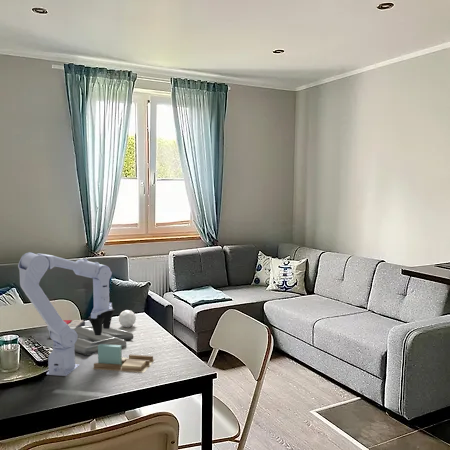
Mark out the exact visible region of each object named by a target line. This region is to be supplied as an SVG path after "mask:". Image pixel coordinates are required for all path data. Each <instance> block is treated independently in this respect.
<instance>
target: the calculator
mask: <svg viewBox="0 0 450 450" xmlns="http://www.w3.org/2000/svg"><path fill="white" fill-rule="evenodd" d="M62 320H63V321H64V322H65V323H66V324H67V325H68V326H69V327H70V328H71V329H75V328H77V327H83V326H86V321H85V320H83V319H79V320H78V319H74V320H72V319H68V320H67V319H62Z"/></svg>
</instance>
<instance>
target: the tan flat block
mask: <svg viewBox="0 0 450 450" xmlns="http://www.w3.org/2000/svg"><path fill="white" fill-rule="evenodd" d="M145 366H146V364H145V365H144V366H143V367H142V368H141V369H135V368H122V370H132V371H141V370H142V369H143V368H144V367H145Z"/></svg>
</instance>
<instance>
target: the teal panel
mask: <svg viewBox="0 0 450 450" xmlns="http://www.w3.org/2000/svg"><path fill="white" fill-rule="evenodd" d="M122 349H123V348H122V347H121V345H109V344H100V345H98V352H97V363H106V364H121V366H122V355H123V354H122Z"/></svg>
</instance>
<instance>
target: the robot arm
mask: <svg viewBox="0 0 450 450" xmlns="http://www.w3.org/2000/svg"><path fill="white" fill-rule="evenodd" d="M56 267H57V268H62V269H67V270H69V271H70V270H71V271H73V273H74V274H75V275H76V276H81V277H84V278H90V279H92V288H93V289H92V291H93V292H92V293H93V294H92V295H93V308H92V310H91V313H90V316H88V321H89V322H90V324H91V326H93V329H94V333H95V335H101V333H102V325H103V328H104V329H109V328H110V327H111V322H112V319H113V315H114V313H115V308H113V302H110V279H111V277H112V274H113V272H112V271H111V268H110V267H109V266H108V265H106V264H102V263H101V264H100V263H99V261H95V262H93V261H89V260H88V259H87V258H84V257H83V258H82V259H81V258H80V259H78V260H76V261H74V260H72V259H71V260H70V259H66V258H63V257H60V256H56V255H52V254H48V253H47V254H46V253H38V252H37V253H34V252H31V251H29V252H26V253H24V254H22V255H21V257H20V260H19V262H18V264H17V268H18V270H19V271H18V272H19V286H20V288H21V289H22V291H23V292H24V294H25V296H26V297H27V298H28V300H29V301H30V303H31V304H32V306H33V307H34V309H35V310H36V311H37V312H38V314H39V316H40V317H41V319H42V320H43V321H44V323H45V324H46V325H47V326H46V327H47V328H46V329H47V330H48V332H49V338H50V339H51V340H52V349H51V352H50V353H49V355H48V357H47V361H48V362H47V364H48V365H47V366H48V371H47V372H46V375H47V376H61V377H67V376H69V375H70V374H71V373H72V372H73V371H75V369H77V368H78V367H79V366H80V364H79V363H76V352H75V346H74V344H75V343H76V341H77V338H78V335H77V333H76V331H75V330H73V329H71V328H70V327H69V326H68V325H67V324H66V323H65V322H64V321H63V320H64V319H63V318H62V317H61V315H60V314H59V313H58V311H57V310H56V308H55V307H54V305H53V304H52V302H51V301H50V299H49V298H48V296H47V295H46V294H45V292H44V290H43V288H42V287H41V286H40V282H41V279H42V278H43V277H44V275H45V273H46V272H47V271H48V270H52V269H53V268H56Z"/></svg>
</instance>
